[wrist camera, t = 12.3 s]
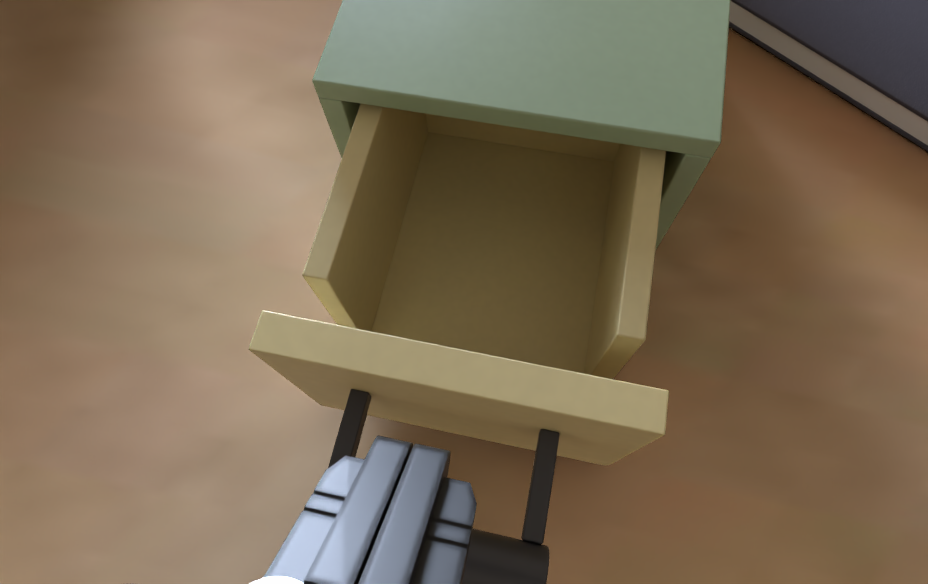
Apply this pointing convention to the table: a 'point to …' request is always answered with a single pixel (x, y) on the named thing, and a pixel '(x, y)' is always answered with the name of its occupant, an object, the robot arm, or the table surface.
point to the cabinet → (542, 71)
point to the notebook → (851, 51)
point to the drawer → (483, 300)
